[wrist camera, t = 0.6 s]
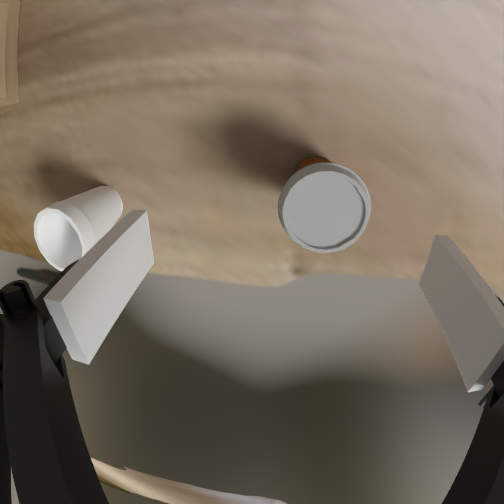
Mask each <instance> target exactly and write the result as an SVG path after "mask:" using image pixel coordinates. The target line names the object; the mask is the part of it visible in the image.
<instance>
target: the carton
mask: <svg viewBox="0 0 504 504" xmlns="http://www.w3.org/2000/svg"><path fill="white" fill-rule="evenodd" d="M20 5H21V0H0V112H1V111H3V110H5V109H7V108H9V107H11V106H13V105H15V104H17V103H20V99H19V84H18V30H19V16H20Z"/></svg>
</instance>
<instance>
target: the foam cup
mask: <svg viewBox="0 0 504 504" xmlns="http://www.w3.org/2000/svg"><path fill="white" fill-rule="evenodd" d="M122 209H123V205H122V200H121V197H120V196H119V195H118V193H117V192H116V191H115V190H114V189H112V188H111V187H109V186H99V187H96V188H93V189H91V190H88V191H86V192H83V193H80V194H78V195H75V196H73V197H70V198H68V199H65V200H63V201H57V202H55V203H53V204H52V205H50V206H48V207H47V208H45V209H44V210H42V211H41V212H39V213H38V215H37V217H36V220H35V222H34V237H35V240H36V242H37V245H38V248H39V250H40V252H41V253H42V255H43V256H44V257H45V259H46V260H47V261H48V263H50V264H51V265H52V266H54V267H55V268H56V269H58V270H59V271H63V270H64V269H65V268H66V267H67V266H68V265H70V264H72V263H73V262H75V261H77V260H80V259H81V258H82V257H83V256H84V255H85V254H86V253H87V252H88V251H89V250H90V249H91V248H92V247H93V246H94V245H95V244H96V243H97V242H98V241H99V240H100V239H101V238H102V237H103V236H104V235H105V234H106V233H108V232H109V230H110V229H111V228H112V227H113V225H114V224H115V223H116V221H117V220H118V219H119V217H120V216H121V214H122Z"/></svg>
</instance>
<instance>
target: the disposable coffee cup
mask: <svg viewBox="0 0 504 504" xmlns="http://www.w3.org/2000/svg"><path fill="white" fill-rule="evenodd" d="M370 212H371V200H370V195H369V192H368V189H367V187H366V185H365V184H364V182H363V181H362V180H361V178H360V177H359V176H358V175H357V174H356V173H354V172H353V171H352V170H350V169H348V168H346V167H344V166H342V165H339V164H334V163H332V162H330V161H328V160H327V159H324V158H320V157H312V158H308V159H306V160H304V161H302V162H301V163H300V164H299V165H298V166H297V168H296V169H295V171H294V173H293V176H291V177H290V178H289V180H288V181H287V182H286V184H285V185H284V187H283V189H282V191H281V194H280V197H279V202H278V215H279V219H280V222H281V225H282V227H283V228H284V230H285V232H286V233H287V234H288V235H289V237H290V238H291V239H292V240H294V241H295V242H296V243H298V244H299V245H301V246H302V247H304V248H306V249H308V250H311V251H314V252H320V253H329V252H336V251H339V250H342V249H344V248H346V247H348V246H350V245H351V244H353V243H354V242H355V241H356V240H357V239H358V238H359V237H360V236H361V234H362V233H363V231H364V229H365V228H366V225H367V223H368V220H369V217H370Z"/></svg>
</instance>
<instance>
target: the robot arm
mask: <svg viewBox="0 0 504 504" xmlns="http://www.w3.org/2000/svg"><path fill="white" fill-rule="evenodd" d="M153 264H154V258H153V252H152V245H151V238H150V230H149V223H148V215H147V210H132V211H131V212H129V213H128V214H127V215H126V216H125V217H124V218H123V219H122V220H121V221H119V222H118V223H117V224H116V225H115V226H114V227H113V228H112V229H111V230H110V231H109V232H108V233H106V234H105V235H104V236H103V237H102V238H101V239H100V240H99V241H98V242H97V243H96V244H95V245H94V246H93V247H92V248H91V249H90V250H89V251H88V252H87V253H86V254H85V255H84V256H83V257H82V258H81V259H80V260H77V261H75V262H73V263H72V264H70V265H68V266H67V267H66V268H65V269H64V270H63V271H62V272H61V273H60V275H58V276H57V277H56V278H55V279H54V282H53V281H52V282H51V283H50V285H49V286H48V287H47V288H46V289H45V290H44V291H43V292H42V293H41V294H40V296H38V298H37V299H36V300H35V299H34V296H33V294H32V292H31V289H30V287H29V284H28V283H27V282H26V281H24V280H18V281H13V282H11V283H9V284H7V285H6V286H4V287H3V288H2V289H1V290H0V307H1V309H2V311H3V313H4V314H0V504H11V468H12V474H13V478H14V483H15V487H16V491H17V495H18V499H19V503H20V504H109V502H108V500H107V498H106V496H105V493H104V491H103V489H102V486H101V484H100V481H99V479H98V477H97V474H96V471H95V469H94V466H93V463H92V461H91V458H90V455H89V452H88V449H87V446H86V443H85V440H84V437H83V434H82V431H81V427H80V424H79V420H78V416H77V413H76V409H75V405H74V401H73V397H72V393H71V389H70V384H69V379H68V374H67V369H66V364H65V360H64V358H63V356H62V354H63V352H64V351H65V349H66V348H67V350H68V352H69V354H70V356H71V358H72V359H73V360H76V361H79V362H82V363H85V364H90V362H91V360H92V359H93V357H94V355H95V354H96V352H97V350H98V349H99V347H100V345H101V344H102V342H103V340H104V338H105V337H106V336H107V334H108V332H109V331H110V329H111V327H112V326H113V324H114V323H115V321H116V319H117V318H118V316H119V315H120V313H121V312H122V310H123V308H124V307H125V305H126V304H127V302H128V301H129V299H130V298H131V296H132V295H133V293H134V292H135V290H136V289H137V287H138V286H139V284H140V283H141V281H142V280H143V278H144V277H145V275H146V274H147V272H148V271H149V269H150V268H151V267H152V265H153ZM419 285H420V287H421V289H422V291H423V292H424V295H425V297H426V298H427V300H428V302H429V304H430V306H431V308H432V310H433V312H434V314H435V317H436V319H437V321H438V323H439V325H440V327H441V329H442V331H443V333H444V336H445V338H446V340H447V342H448V344H449V347H450V349H451V351H452V354H453V356H454V358H455V361H456V363H457V366H458V368H459V371H460V373H461V376H462V378H463V381H464V384H465V386H466V389H467V392H472V391H477V390H482V389H483V388H484V387H485V386H486V384H487V383H488V382H489V381H490V379H492V382H493V384H494V386H493V387H492V388H491V389H490V391H489V392H488V393H487V394H486V395H485V397H484V398H483V399H482V400H481V401H480V403H479V405H480V406H481V404H482V403H483V402H485V401H486V403H485V406H484V410H483V413H482V416H481V418H480V421H479V424H478V427H477V430H476V433H475V435H474V438H473V440H472V443H471V445H470V448H469V450H468V452H467V454H466V457H465V459H464V461H463V463H462V466H461V468H460V470H459V472H458V474H457V476H456V478H455V480H454V482H453V484H452V486H451V488H450V490H449V492H448V494H447V495H446V498H445V499H444V501H443V503H442V504H504V303H503V302H502V300H501V299H500V298H499V297H497V296H496V295H495V294H494V292H493V291H492V290H491V288H490V287H489V286H488V284H487V283H486V282H485V280H484V279H483V278H482V276H481V275H480V274H479V272H478V271H477V270H476V269H475V267H474V266H473V265H472V264H471V262H470V261H469V260H468V259H467V257H466V256H465V255H464V254H463V253H462V251H461V250H460V249H459V248H458V247H457V246H456V244H455V243H454V242H453V241H452V240H451V239H450V237H449V236H443V235H435V238H434V241H433V245H432V248H431V251H430V254H429V257H428V260H427V263H426V266H425V269H424V272H423V274H422V277H421V280H420V283H419Z"/></svg>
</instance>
